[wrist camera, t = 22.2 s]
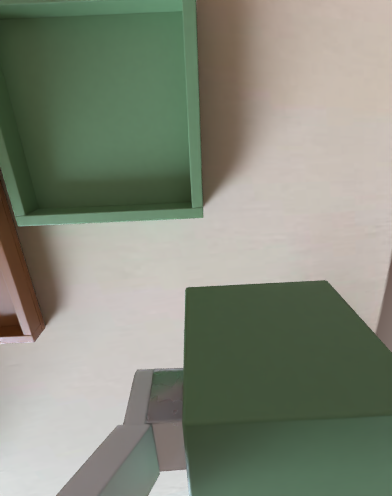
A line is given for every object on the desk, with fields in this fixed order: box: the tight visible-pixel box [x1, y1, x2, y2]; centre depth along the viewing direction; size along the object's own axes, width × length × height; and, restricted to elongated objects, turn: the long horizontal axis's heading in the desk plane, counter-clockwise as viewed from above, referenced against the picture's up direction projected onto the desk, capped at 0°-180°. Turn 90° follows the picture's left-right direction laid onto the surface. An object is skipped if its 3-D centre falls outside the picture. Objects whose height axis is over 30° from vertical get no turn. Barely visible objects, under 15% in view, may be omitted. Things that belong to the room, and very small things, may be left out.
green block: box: [182, 280, 392, 496], centre depth 8 cm, size 4×4×4 cm
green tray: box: [0, 0, 203, 226], centre depth 19 cm, size 14×14×3 cm
